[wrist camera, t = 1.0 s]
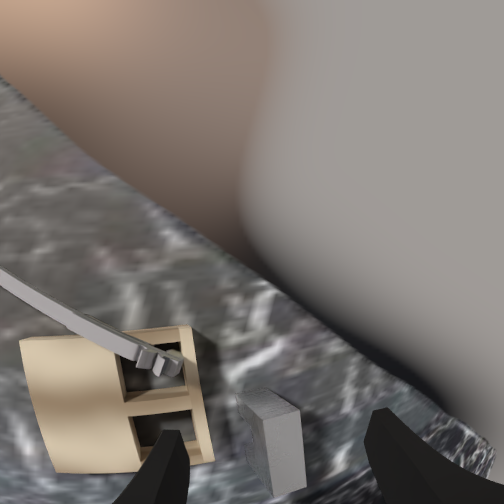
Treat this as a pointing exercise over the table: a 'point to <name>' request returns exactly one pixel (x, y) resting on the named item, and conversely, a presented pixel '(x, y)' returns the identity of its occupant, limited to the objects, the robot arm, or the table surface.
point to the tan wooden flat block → (106, 401)
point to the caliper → (95, 328)
